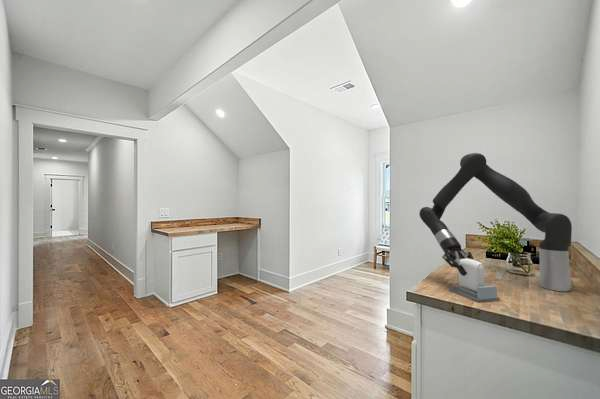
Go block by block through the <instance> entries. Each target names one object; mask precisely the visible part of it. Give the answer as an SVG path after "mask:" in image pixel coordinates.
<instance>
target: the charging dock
mask: <svg viewBox="0 0 600 399" xmlns="http://www.w3.org/2000/svg"><path fill="white" fill-rule="evenodd" d="M449 291H450V292H452V293H455V294H457V295H460V296H462V297H464V298H466V299H469V300H471V301H474V302H475V303H485V302H494V301H495V302H496V301H500V297H498V287H497V285H485V286H482V287H477V292H475V291H473V290H470V289H467V288H464V287H462V286H460V285H455V284H451V287H449Z"/></svg>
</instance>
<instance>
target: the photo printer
mask: <svg viewBox="0 0 600 399" xmlns="http://www.w3.org/2000/svg"><path fill="white" fill-rule="evenodd" d="M473 259H474V258H473ZM473 259H460V263H461V266H463V268H464V269H465V271H466V272H467V274H466V275H465V276H462V275H461V274H460V272H459V271H458V270H457V271H458V286H459V287H464V288H467V289H470V290H473V291H475V292H477V287H482V286H486V281H485V280H486V278H485V276H486V275H485V274H486V273H485V265H484V264H483V263H482V262H480V261H478V260H475V259H474V260H473Z"/></svg>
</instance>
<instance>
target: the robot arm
mask: <svg viewBox="0 0 600 399" xmlns="http://www.w3.org/2000/svg"><path fill="white" fill-rule="evenodd" d="M459 165H460V169H459V170H458V172H457V173H456V174H455V175H454V176H453V177H452V179H451V180H449V181H448V182H447V183H446V184H445V185H444V186H443V187H442V188H441V189H440V190H439V191H438V192H437V194H436V195H435V196H434V197H433V200H432V203H433V206H432V207H429V206H424V207H422V208H421V209H420V210H419V213H418V214H419V217H420V219H421V220H422V222H423V223H424V224H425V225H426V227H427V228H429V230H430V231H431V233H432V235H433V236H434V238H435V240H436V242H437V243H438V245H439V246H440V248H441V250H442V252H444V254H443V255H442V259H443V260H444V261H445V262H446V263H447V264H448V265H449V266H450V267H452V268H455V269H457V271H459V272H460V274H461V275H462V276H465V275H466V274H467V272H466V271H465V269H464V268H463V266H461V263H460V259H473V260H475V259H474V256H473V255H472V252H470V251H468V252H466V251H465V250H463V249H462V245H461V244H460V242H459V241H458V239H457V237H456V236H455V235H454V234H453V232H452V231H451V230H450V229H449V228H448V226H447V225H446V224H445V222H444V221H442V220H441V218H443V217H442V216H443V215H444V213H445V211H446V208H447V207H448V206H449V205H450V204H451V202H452V201H453V200H454V199H455V198H456V196H457V195H458V194H459V192H461V190H462V189H463V188H464V187H465V186H466V185H467V184H468V183H469V181H471V180H472V179H473V178H475V179H476V180H479V182H481V183H482V184H483V185H484V186H485V187H486V188H488V189H489V190H490V192H492V193H494V195H495V196H496V197H497V198H499V199H500V200H501V201H503V202H504V203H505V204H507V205H509V206H510V207H511V208H512V209H514V210H515V211H516V212H518V213H520V214H521V215H522V216H523V217H524V218H526V220H528V221H529V222H530V223H531V224H532V226H534V227H535V228H536V229H537V230H538V231H540V232H542V233H544V239H543V240H541V241H539V242H538V244H539V245H538V249H539V250H538V252H539V286H540V287H541V288H544V289H546V290H551V291H558V292H570V290H572V287H571V286H572V285H571V284H572V280H571V278H572V277H571V268H570V256H569V253H570V252H569V248H570V246H571V244H572V233H573V232H572V229H573V228H572V222H571V219H570V218H569V217H568V216H567V215H566V214H562V213H554V212H548V211H547V210H545V209H543V208H542V207H540V206H539V205H538V204H537V203H536V202H534V200H533V199H532V197H531V195H530V193H529V192H528V191H527V190H526V189H525V188H524V187H523V186H522V185H520V184H519V183H517V181H515V180H513V179H512V178H510V177H508V176H506V175H504V174H502V173H500V172H498V171H496V170H494V169H493V168H492V167H490V166H489V165H488V164H487V158H486V156H485V155H484V154H482V153H478V152H473V153H467V154H466V155H463V156H462V157H461V159H460V161H459Z"/></svg>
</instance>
